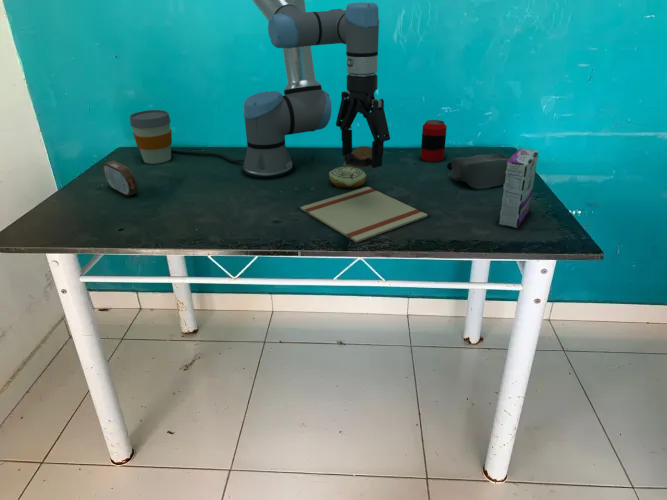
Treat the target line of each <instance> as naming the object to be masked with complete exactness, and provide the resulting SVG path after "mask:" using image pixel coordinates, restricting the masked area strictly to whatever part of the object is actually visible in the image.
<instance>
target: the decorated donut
mask: <svg viewBox="0 0 667 500" xmlns="http://www.w3.org/2000/svg"><path fill="white" fill-rule="evenodd" d="M328 178H329V181H330V183H331V184H332V185H334V186H336V187H338V188H349V189H350V188H351V189H354V188H358V187H360V186H364V184H365V182H366V178H367V174H366V173H365V171H364V170H362V168H358V167H346V166H338V167H336V168H333V169H332V170H331V171H329V172H328Z"/></svg>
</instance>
